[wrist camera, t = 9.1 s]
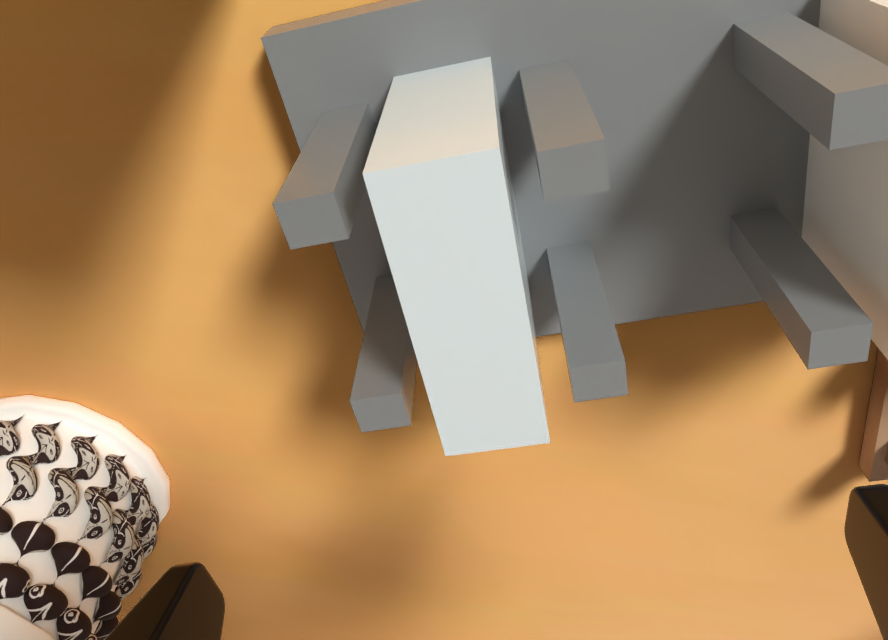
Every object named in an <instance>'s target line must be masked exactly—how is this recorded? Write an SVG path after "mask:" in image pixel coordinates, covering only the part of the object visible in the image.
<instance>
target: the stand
mask: <svg viewBox="0 0 888 640" xmlns="http://www.w3.org/2000/svg"><path fill="white" fill-rule="evenodd" d="M859 466H860V468H861V469H862V471H863V473H864V474H865V476H866V477H867V479H868V481H869V482H870V481H879V480H887V479H888V360H887V358H886V357H885V356H884V355H883V353H882V352H881V351H880V350H879V349H878V355H877V360H876V366H875V372H874V378H873V384H872V390H871V396H870V402H869V408H868V414H867V420H866V426H865V432H864V438H863V444H862V450H861V456H860V462H859Z"/></svg>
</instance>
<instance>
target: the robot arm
mask: <svg viewBox="0 0 888 640" xmlns="http://www.w3.org/2000/svg"><path fill="white" fill-rule="evenodd" d="M845 538H846V542H847V545H848V548H849V551H850V554H851V556H852V559H853V561H854V564H855V567H856V569H857V572H858V574H859V577H860V580H861V582H862V585H863V587H864V590H865V593H866V595H867V598H868V600H869V603H870V606H871V608H872V611H873V613H874V616H875V618H876V621H877V624H878V626H879V629H880V631H881V634H882V637H883V639H884V640H888V485H885V484H877V485H868V486H860V487H855V488H854V489H853V490H852V491H851V493H850V496H849V503H848V509H847V515H846V521H845ZM224 612H225V602H224V597H223V594H222V592H221V591H220V589H219V588H218V586H217V584H216V583H215V581H214V580H213V578H212V577H211V575H210V574H209V572H208V571H207V569H206V568H205V567H204V565H202V564H200V563H197V562H195V563H186V564H178V565H175V566H173V567H171V568H170V569H169V570H168V571H167V572H166V573H165V574H164V575H163V576H162V577H161V578H160V579H159V580H158V582H157V583H156V584H155V585H154V586H153V587H152V588H151V589H150V590H149V591H148V592H147V594H146V595H145V596H144V597H143V598H142V599H141V600H140V601H139V602H138V603H137V605H136V606H135V607H134V608H133V609H132V610H131V611H130V612H129V613H128V614H127V615H126V617H125V618H124V619H123V620H122V621H121V622H120V623H119V624H118V625H117V626H116V627H115V629H114V630H113V631H112V632H111V633H110V634H109V635H108V636H107V637H106V638H105V640H221V634H222V626H223V619H224Z"/></svg>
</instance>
